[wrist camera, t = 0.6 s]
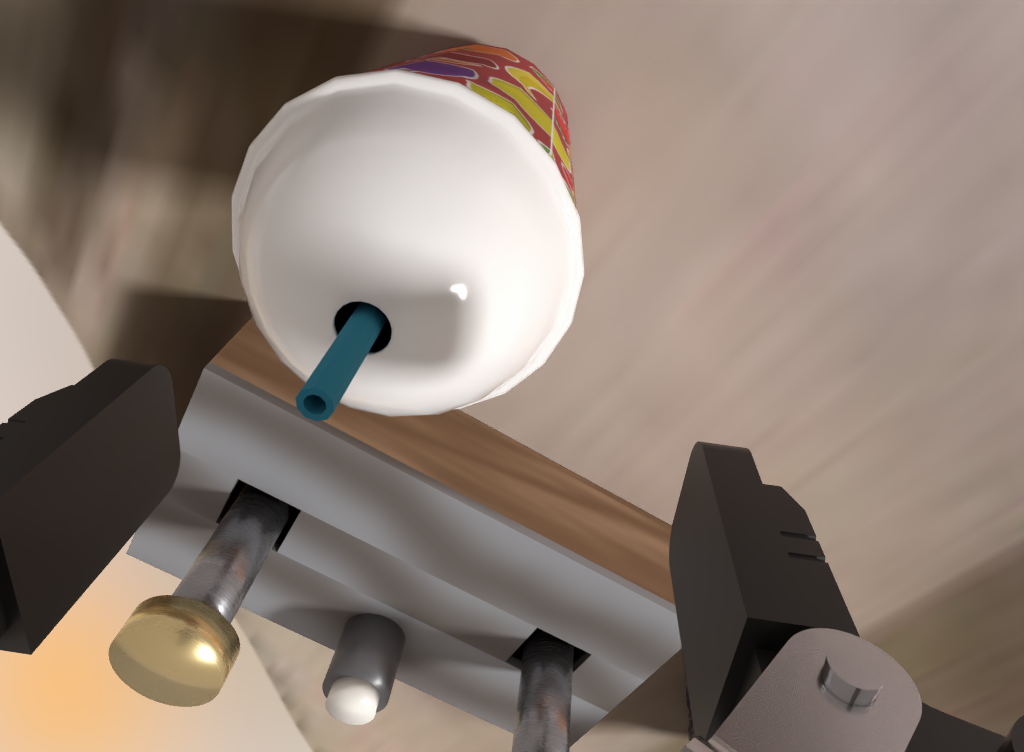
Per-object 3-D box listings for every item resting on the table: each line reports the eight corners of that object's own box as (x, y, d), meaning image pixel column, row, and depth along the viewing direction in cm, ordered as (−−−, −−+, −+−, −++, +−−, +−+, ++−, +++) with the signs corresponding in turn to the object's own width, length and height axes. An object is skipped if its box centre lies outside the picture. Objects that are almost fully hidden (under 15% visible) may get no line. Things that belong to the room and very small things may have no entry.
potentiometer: (359, 604, 35) (332, 676, 31) (415, 631, 35) (395, 705, 32) (334, 639, 36) (306, 712, 33) (389, 664, 37) (367, 739, 33)
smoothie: (485, 273, 32) (349, 651, 15) (339, 128, 30) (-26, 381, 12) (636, 139, 29) (685, 430, 11) (484, -38, 26) (255, -7, 9)
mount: (264, 304, 34) (203, 368, 29) (690, 536, 38) (704, 628, 33) (188, 474, 40) (126, 553, 35) (565, 660, 44) (560, 755, 39)
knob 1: (242, 448, 32) (125, 612, 24) (325, 490, 33) (237, 662, 25) (214, 506, 34) (96, 675, 26) (292, 545, 35) (201, 721, 27)
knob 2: (535, 597, 35) (515, 787, 27) (606, 632, 36) (607, 829, 28) (494, 643, 37) (464, 834, 29) (562, 676, 38) (551, 871, 30)
